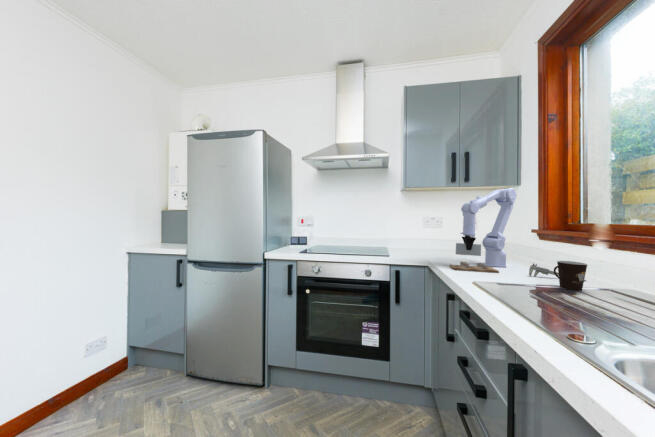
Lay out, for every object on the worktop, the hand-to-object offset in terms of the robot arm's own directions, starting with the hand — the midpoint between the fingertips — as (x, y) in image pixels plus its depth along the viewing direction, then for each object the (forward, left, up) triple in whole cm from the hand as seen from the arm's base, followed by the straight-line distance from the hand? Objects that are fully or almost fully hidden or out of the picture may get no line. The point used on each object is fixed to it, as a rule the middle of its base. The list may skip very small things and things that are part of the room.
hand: (468, 249), depth 145 cm
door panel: (0, 0, -3) cm, 3 cm away
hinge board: (0, +9, -9) cm, 13 cm away
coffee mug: (-25, +37, -9) cm, 45 cm away
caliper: (-32, +18, -10) cm, 38 cm away
